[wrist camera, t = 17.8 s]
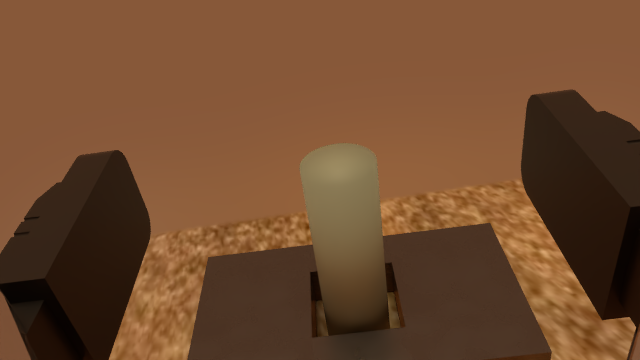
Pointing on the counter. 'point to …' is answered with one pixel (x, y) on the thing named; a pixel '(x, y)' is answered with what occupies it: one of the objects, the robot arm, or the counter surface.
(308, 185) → the peg
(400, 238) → the brown block with hole
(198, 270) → the counter surface
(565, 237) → the robot arm
